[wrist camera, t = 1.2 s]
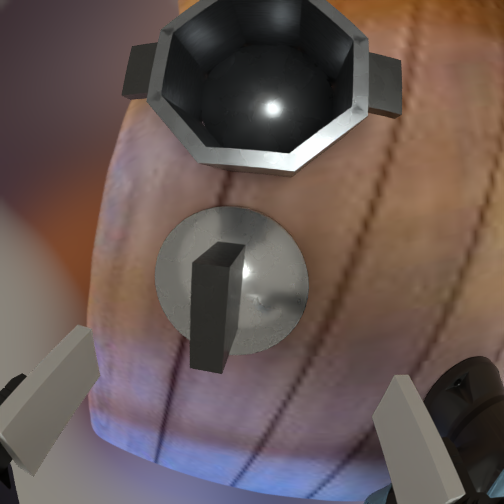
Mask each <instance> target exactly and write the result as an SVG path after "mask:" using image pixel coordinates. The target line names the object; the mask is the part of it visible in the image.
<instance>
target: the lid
mask: <svg viewBox="0 0 504 504" xmlns="http://www.w3.org/2000/svg"><path fill="white" fill-rule="evenodd" d="M155 286H156V291H157V296H158V299H159V302H160V304H161V307H162V309H163V311H164V313H165V314H166V316H167V318H168V319H169V321H170V322H171V323H172V324H173V326H174V327H175V328H176V329H177V330H178V331H179V332H180V333H181V334H182V335H183V336H185V337H186V338H187V339H188V340H190V368H193V369H198V370H203V371H209V372H214V373H220V374H222V373H223V370H224V367H225V364H226V361H227V359H228V356H229V355H246V354H253V353H257V352H260V351H263V350H265V349H268V348H270V347H272V346H274V345H276V344H277V343H279V342H280V341H281V340H283V339H284V338H285V337H286V336H287V335H288V334H289V333H290V332H291V331H292V330H293V329H294V328H295V326H296V325H297V324H298V322H299V320H300V318H301V317H302V314H303V312H304V309H305V307H306V303H307V299H308V291H309V281H308V273H307V268H306V264H305V261H304V258H303V255H302V253H301V251H300V249H299V247H298V245H297V243H296V242H295V241H294V239H293V238H292V236H291V235H290V234H289V233H288V232H287V231H286V230H285V229H284V228H283V227H282V226H281V225H280V224H279V223H277V222H276V221H274V220H273V219H271V218H270V217H268V216H266V215H264V214H262V213H260V212H258V211H255V210H252V209H248V208H243V207H238V206H222V207H214V208H210V209H206V210H203V211H200V212H198V213H195V214H193V215H191V216H190V217H188V218H186V219H185V220H183V221H182V222H181V223H180V224H178V225H177V226H176V227H175V228H174V229H173V230H172V231H171V232H170V234H169V235H168V237H167V238H166V239H165V241H164V243H163V245H162V247H161V249H160V251H159V254H158V257H157V262H156V267H155Z"/></svg>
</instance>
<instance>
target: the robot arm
mask: <svg viewBox="0 0 504 504" xmlns="http://www.w3.org/2000/svg"><path fill="white" fill-rule="evenodd" d="M99 377H100V372H99V367H98V362H97V357H96V352H95V346H94V340H93V334H92V329H90V328H87V327H83V326H80V325H77V326H76V327H75V328H74V329H73V330H72V331H71V332H70V333H69V334H68V335H67V336H66V337H65V338H64V339H63V340H62V341H61V342H60V343H59V344H58V345H57V346H56V347H55V348H54V349H53V350H52V351H51V352H50V353H49V354H48V355H47V356H46V357H45V358H44V359H43V360H42V361H41V362H40V363H39V364H38V365H37V366H36V368H35V369H34V370H33V371H32V372H31V373H30V374H29V375H28V376H26V375H24V374H20V375H18V376H16V377H14V378H13V379H11V380H10V381H9V382H8V384H7V385H6V386H5V388H3V389H2V390H1V391H0V504H19V500H18V495H17V491H16V486H15V481H14V476H13V471H12V467H11V464H10V462H11V461H12V459H13V460H14V462H15V463H16V464H17V465H18V467H20V468H21V469H23V470H24V471H26V472H28V473H29V474H30V475H32V476H34V475H35V474H36V472H37V470H38V469H39V467H40V465H41V464H42V462H43V460H44V459H45V457H46V456H47V454H48V452H49V451H50V449H51V448H52V446H53V445H54V443H55V442H56V440H57V438H58V437H59V435H60V434H61V432H62V431H63V429H64V428H65V426H66V424H67V423H68V421H69V420H70V419H71V417H72V416H73V414H74V413H75V411H76V410H77V408H78V407H79V405H80V404H81V402H82V401H83V400H84V398H85V397H86V395H87V394H88V392H89V391H90V389H91V388H92V387H93V385H94V384H95V382H96V381H97V379H98V378H99ZM372 419H373V422H374V425H375V428H376V431H377V434H378V438H379V441H380V444H381V447H382V451H383V454H384V457H385V461H386V464H387V468H388V471H389V475H390V478H391V482H392V483H391V484H390V485H388V486H386V487H384V488H382V489H380V490H378V491H376V492H374V493H372V494H371V495H369V496H368V497H367V499H366V500H365V502H364V504H504V386H503V383H502V381H501V378H500V374H499V371H498V369H497V367H496V366H495V365H494V364H493V363H492V362H491V361H490V360H489V359H488V358H485V357H473V358H470V359H467V360H465V361H463V362H461V363H459V364H457V365H456V366H454V367H453V368H452V369H450V370H449V371H448V372H447V373H445V374H444V375H443V376H442V377H441V378H440V379H439V380H438V381H437V382H436V384H435V385H434V386H433V387H432V389H431V390H430V392H429V393H428V395H427V397H426V399H425V401H424V403H423V401H422V399H421V397H420V395H419V393H418V391H417V389H416V388H415V386H414V384H413V382H412V380H411V378H410V377H409V375H394V377H393V379H392V381H391V383H390V385H389V386H388V388H387V390H386V392H385V394H384V396H383V398H382V400H381V401H380V403H379V405H378V407H377V409H376V410H375V412H374V414H373V415H372Z"/></svg>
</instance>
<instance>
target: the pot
mask: <svg viewBox="0 0 504 504" xmlns="http://www.w3.org/2000/svg"><path fill="white" fill-rule="evenodd" d="M332 86H333V89H332ZM122 96H124V97H126V98H128V99H130V100H132V99H144V98H147V101H146V102H147V103H148V104H149V105H150V106H151V107H152V109H153V110H154V111H155V112H156V113H157V114H158V116H159V117H160V118H161V119H162V120H163V122H164V123H165V124H166V125H167V126H168V128H169V129H170V130H171V131H172V132H173V134H174V135H175V136H176V137H177V138H178V139H179V141H180V142H181V143H182V144H183V145H184V147H185V148H186V149H187V150H188V151H189V153H190V154H191V155H192V156H193V157H194V159H195V160H196V161H197V162H198V163H200V164H204V165H208V166H212V167H216V168H220V169H224V170H227V171H237V172H248V173H259V174H269V175H278V176H287V177H292V176H294V175H295V174H296V173H297V172H299V171H300V170H301V169H303V168H304V167H305V166H306V165H308V164H309V163H310V162H312V161H313V160H314V159H316V158H317V157H318V156H319V155H321V154H322V153H323V152H325V151H326V150H327V149H329V148H330V147H331V146H333V145H334V144H335V143H336V142H338V141H339V140H341V139H342V138H343V137H344V136H345V135H346V134H347V133H349V132H350V131H351V130H352V129H353V128H354V127H356V126H357V125H358V124H359V123H360V122H361V121H363V120H364V119H365V118H366V117H367V116H368V113H372V114H377V115H381V116H386V117H390V118H394V119H395V118H397V117H399V116H400V115H402V71H401V60H398V59H394V58H390V57H387V56H383V55H379V54H375V53H370V52H369V43H368V38H367V37H366V36H365V35H364V34H363V33H362V32H361V31H360V30H359V29H358V28H357V27H356V26H355V25H354V24H353V23H352V22H350V21H349V20H348V19H347V18H346V17H345V16H344V15H343V14H341V13H340V12H339V11H338V10H337V9H336V8H334V7H333V6H332V5H331V4H330V3H328V2H327V1H326V0H200V1H199V2H197V3H196V4H194V5H193V6H191V7H190V8H189V9H187V10H186V11H184V12H183V13H182V14H180V15H179V16H178V17H176V18H175V19H174V20H172V21H171V22H170V23H169V24H167V25H166V26H165V27H164V28H163V29H161V32H160V36H159V40H158V42H157V43H150V44H143V45H137V46H132V49H131V53H130V57H129V61H128V66H127V71H126V75H125V81H124V85H123V91H122ZM203 122H204V125H205V126H204V125H203Z"/></svg>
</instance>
